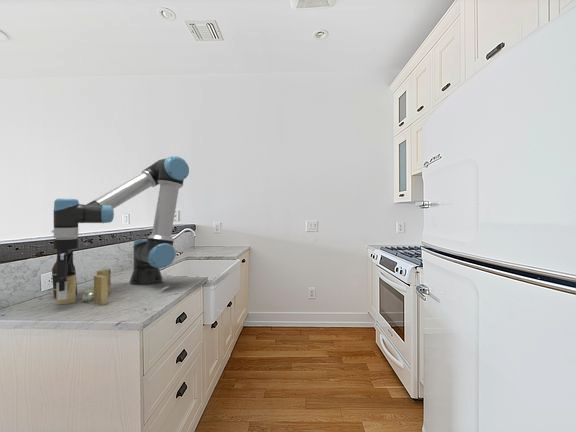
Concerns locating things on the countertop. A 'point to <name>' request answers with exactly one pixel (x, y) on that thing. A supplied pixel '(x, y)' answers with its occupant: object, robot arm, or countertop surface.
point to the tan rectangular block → (69, 291)
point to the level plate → (87, 296)
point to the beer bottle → (54, 275)
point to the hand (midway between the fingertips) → (65, 295)
